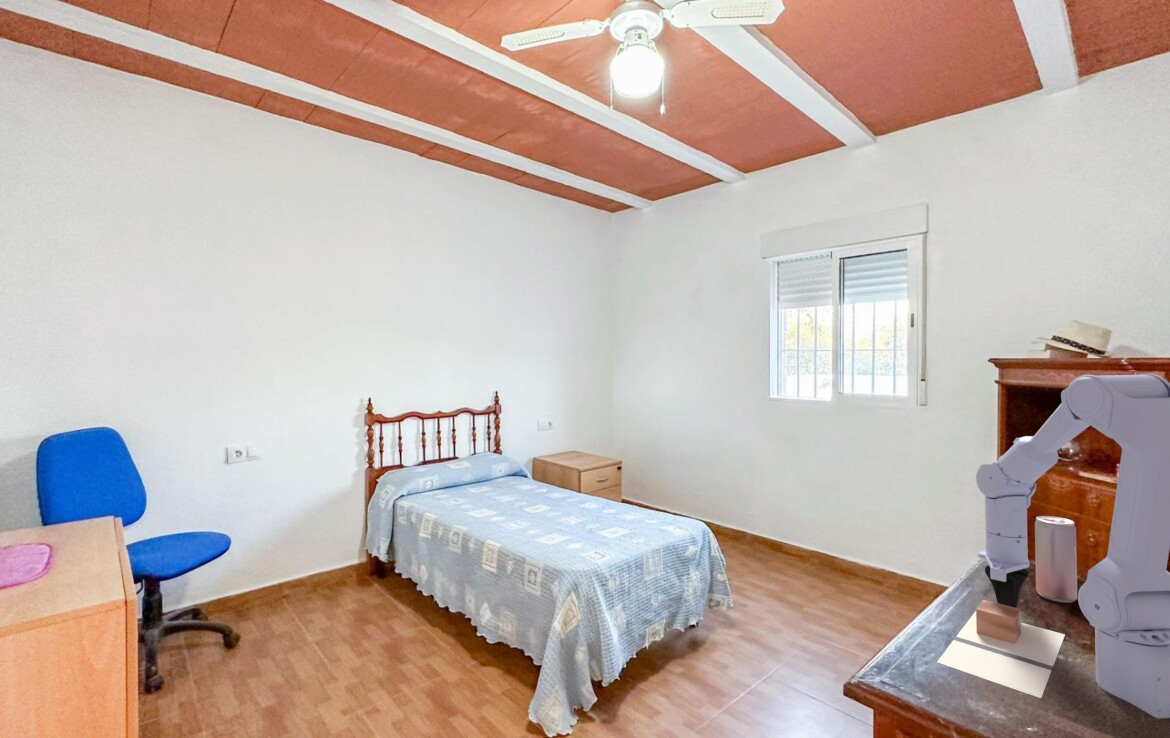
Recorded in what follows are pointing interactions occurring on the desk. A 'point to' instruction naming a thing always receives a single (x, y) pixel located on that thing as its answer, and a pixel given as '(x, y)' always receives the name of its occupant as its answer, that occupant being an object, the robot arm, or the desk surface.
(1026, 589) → the desk surface
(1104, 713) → the desk surface
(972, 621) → the board
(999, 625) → the block
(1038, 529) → the beverage can
